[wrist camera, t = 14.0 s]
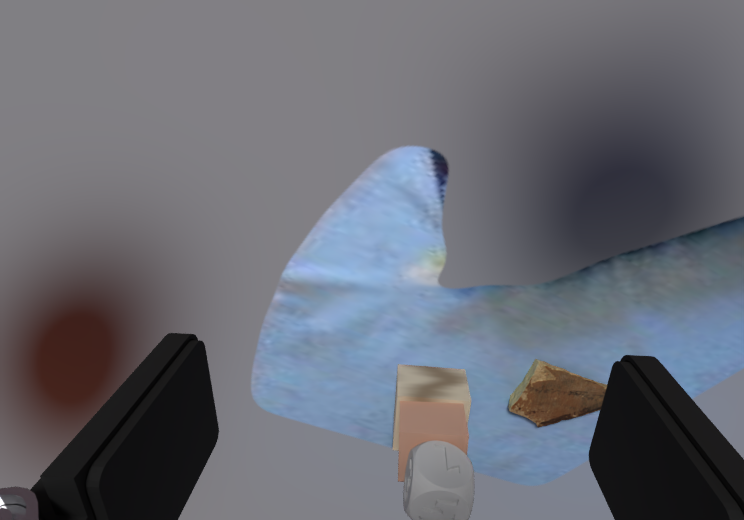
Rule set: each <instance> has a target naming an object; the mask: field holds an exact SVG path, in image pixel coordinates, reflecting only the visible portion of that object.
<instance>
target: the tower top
mask: <svg viewBox="0 0 744 520" xmlns="http://www.w3.org/2000/svg"><path fill="white" fill-rule="evenodd" d="M468 439H469V434H468V428H467V422H466V416H465V410H464V404H463V403H441V402H419V401H400V421H399V464H398V465H399V466H398V467H399V468H398V481H400V482H404V479H405V471H406V465H407V459H408V455H409V452H410V450H411V449H412V448H414V447H415V446H417V445H419V444H421V443H423V442H427V441H434V440H437V441H444V442H448V443H450V444H452V445H454V446H456V447H458V448H459V449H460V450H462V451H463V452H464V453H465V454H466V455H467V448H468Z"/></svg>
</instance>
